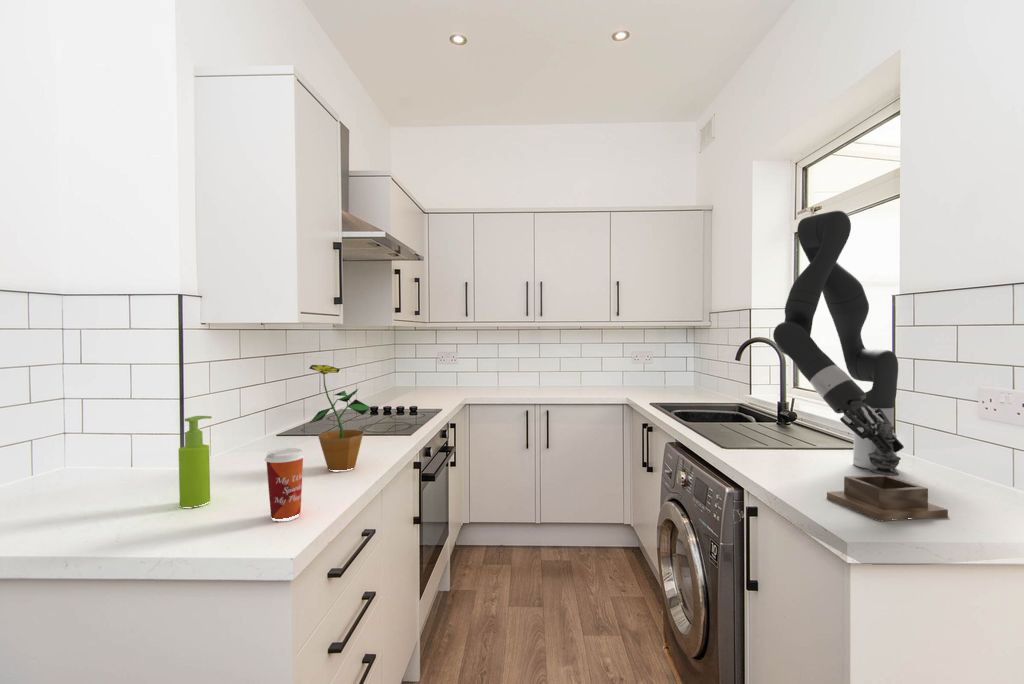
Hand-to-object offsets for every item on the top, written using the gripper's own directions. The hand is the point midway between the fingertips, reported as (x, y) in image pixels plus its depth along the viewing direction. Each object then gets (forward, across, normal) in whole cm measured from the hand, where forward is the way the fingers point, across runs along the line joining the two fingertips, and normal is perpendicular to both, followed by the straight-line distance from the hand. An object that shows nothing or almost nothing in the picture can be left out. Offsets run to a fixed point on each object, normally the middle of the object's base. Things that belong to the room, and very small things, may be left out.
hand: (894, 450), depth 107 cm
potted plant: (-55, -99, +75) cm, 136 cm away
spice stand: (+8, 0, +10) cm, 13 cm away
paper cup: (-32, -116, +52) cm, 131 cm away
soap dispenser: (-45, -134, +66) cm, 156 cm away
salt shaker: (+2, 0, +5) cm, 6 cm away
